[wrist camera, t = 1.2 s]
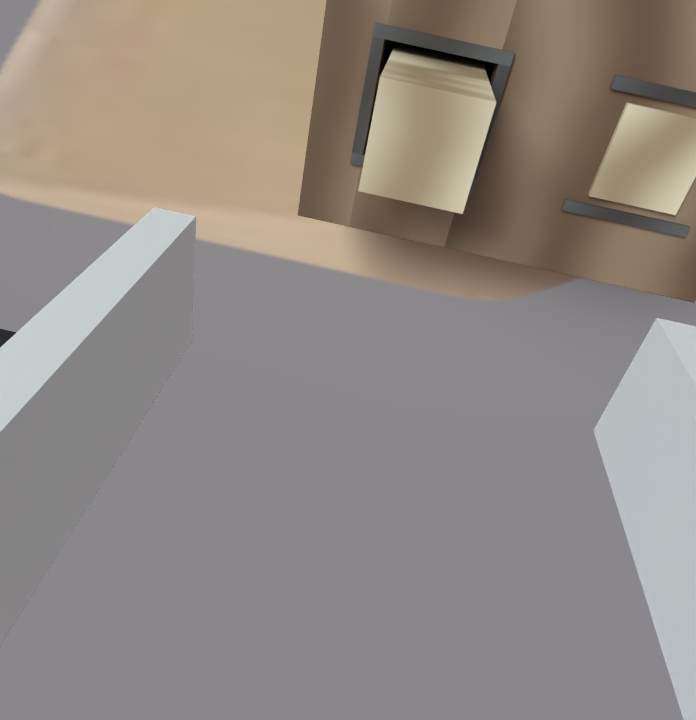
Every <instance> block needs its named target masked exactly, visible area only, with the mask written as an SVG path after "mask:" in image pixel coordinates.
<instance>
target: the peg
mask: <svg viewBox="0 0 696 720" xmlns="http://www.w3.org/2000/svg"><path fill="white" fill-rule="evenodd" d="M495 106H496V99H495V97H494V94H493V91H492V88H491V85H490V82H489V79H488V76H487V73H486V70H485V68H484V65H483V64H481V63H477V62H472V61H468V60H463V59H459V58H454V57H449V56H445V55H440V54H436V53H431V52H427V51H422V50H417V49H413V48H408V47H404V46H399V45H395V46H394V48H393V50H392V53H391V55H390V57H389V59H388V61H387V63H386V65H385V67H384V69H383V72H382V74H381V76H380V80H379V85H378V90H377V95H376V101H375V106H374V111H373V116H372V121H371V127H370V132H369V137H368V142H367V148H366V153H365V158H364V163H363V168H362V174H361V179H360V184H359V189H358V191H360V192H365V193H369V194H374V195H378V196H383V197H387V198H392V199H396V200H401V201H405V202H410V203H415V204H419V205H424V206H428V207H433V208H437V209H442V210H446V211H451V212H455V213H460V214H463V211H464V208H465V205H466V201H467V198H468V195H469V191H470V188H471V185H472V181H473V178H474V175H475V172H476V168H477V165H478V162H479V158H480V155H481V152H482V148H483V145H484V142H485V139H486V135H487V132H488V129H489V125H490V122H491V119H492V115H493V112H494V109H495Z"/></svg>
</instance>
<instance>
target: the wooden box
mask: <svg viewBox="0 0 696 720" xmlns="http://www.w3.org/2000/svg"><path fill="white" fill-rule="evenodd" d="M393 41H396V42H400V43H405V44H409V45H414V46H418V47H423V48H428V49H432V50H437V51H441V52H446V53H450V54H455V55H460V56H464V57H469V58H473V59H478V60H479V62H478V63H481V64H483V65H484V68H485V70H486V73H487V76H488V79H489V82H490V85H491V88H492V91H493V94H494V97H495V99H496V106H495V109H494V112H493V115H492V119H491V122H490V125H489V129H488V132H487V135H486V139H485V142H484V145H483V148H482V152H481V155H480V158H479V162H478V165H477V168H476V172H475V175H474V178H473V181H472V185H471V188H470V191H469V195H468V198H467V201H466V205H465V208H464V211H463V214H460V213H455V212H451V211H446V210H442V209H437V208H433V207H428V206H424V205H419V204H415V203H410V202H405V201H401V200H396V199H392V198H387V197H383V196H378V195H374V194H369V193H365V192H360V191H358V189H359V184H360V179H361V174H362V168H363V163H364V158H365V153H366V148H367V142H368V137H369V132H370V127H371V121H372V116H373V111H374V106H375V101H376V95H377V90H378V85H379V80H380V76H381V74H382V72H383V69H384V67H385V65H386V63H387V61H388V59H389V57H390V55H391V50H392V45H393ZM298 215H299V216H303V217H308V218H313V219H317V220H322V221H326V222H331V223H335V224H340V225H344V226H349V227H353V228H358V229H362V230H367V231H372V232H376V233H381V234H385V235H390V236H394V237H399V238H403V239H408V240H412V241H417V242H421V243H426V244H431V245H435V246H440V247H444V248H449V249H453V250H458V251H462V252H467V253H471V254H476V255H480V256H485V257H490V258H494V259H499V260H503V261H508V262H512V263H517V264H521V265H526V266H530V267H535V268H539V269H544V270H549V271H553V272H558V273H562V274H567V275H571V276H576V277H580V278H585V279H589V280H594V281H598V282H603V283H608V284H612V285H617V286H621V287H626V288H631V289H635V290H639V291H644V292H649V293H653V294H657V295H662V296H667V297H671V298H676V299H681V300H685V301H689V302H694V301H695V300H696V0H327V2H326V10H325V17H324V24H323V32H322V39H321V47H320V54H319V62H318V69H317V76H316V84H315V91H314V99H313V106H312V114H311V121H310V128H309V136H308V143H307V151H306V158H305V165H304V173H303V180H302V188H301V195H300V203H299V210H298Z"/></svg>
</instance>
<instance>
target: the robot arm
mask: <svg viewBox="0 0 696 720" xmlns="http://www.w3.org/2000/svg"><path fill="white" fill-rule="evenodd" d="M195 230H196V216H192V215H187V214H183V213H178V212H174V211H169V210H164V209H160V208H155V207H154V208H153V209H152V210H151V211H150V212H148V213H147V214H146V215H145V216H144V217H143V218H142V219H141V220H140V221H139V222H137V223H136V224H135V225H134V226H133V227H132V228H131V229H130V230H129V231H128V232H126V233H125V234H124V235H123V236H122V237H121V238H120V239H119V240H118V241H117V242H116V243H114V245H112V246H111V247H110V248H109V249H108V250H107V251H106V252H105V253H103V254H102V255H101V256H100V257H99V258H98V259H97V260H96V261H95V262H94V263H92V264H91V265H90V266H89V267H88V268H87V269H86V270H85V271H84V272H83V273H81V274H80V275H79V276H78V277H77V278H76V279H75V280H74V281H73V282H72V283H71V284H69V285H68V286H67V287H66V288H65V289H64V290H63V291H62V292H61V293H60V294H58V295H57V296H56V297H55V298H54V299H53V300H52V301H51V302H50V303H49V304H47V305H46V306H45V307H44V308H43V309H42V310H41V311H40V312H39V313H38V314H36V316H34V317H33V318H32V319H31V320H30V321H29V322H28V323H27V324H25V325H24V326H23V328H21V329H20V330H19V331H18V332H17V333H16V332H12V331H7V330H3V329H0V646H1V645H2V643H3V641H4V640H5V638H6V637H7V635H8V633H9V632H10V630H11V629H12V627H13V625H14V624H15V622H16V621H17V619H18V618H19V616H20V614H21V613H22V611H23V610H24V608H25V606H26V605H27V603H28V602H29V600H30V598H31V597H32V595H33V594H34V592H35V591H36V589H37V587H38V586H39V584H40V582H41V581H42V579H43V578H44V576H45V575H46V573H47V571H48V570H49V568H50V567H51V565H52V564H53V562H54V560H55V559H56V557H57V556H58V554H59V552H60V551H61V549H62V548H63V546H64V544H65V543H66V541H67V540H68V538H69V537H70V535H71V533H72V532H73V530H74V529H75V527H76V525H77V524H78V522H79V521H80V519H81V517H82V516H83V514H84V513H85V511H86V510H87V508H88V506H89V505H90V503H91V502H92V500H93V498H94V497H95V495H96V494H97V492H98V490H99V489H100V487H101V486H102V484H103V483H104V481H105V479H106V478H107V476H108V474H109V473H110V471H111V470H112V468H113V467H114V465H115V464H116V462H117V460H118V459H119V457H120V456H121V454H122V452H123V451H124V449H125V447H126V446H127V444H128V443H129V441H130V440H131V438H132V437H133V435H134V433H135V431H136V430H137V429H138V427H139V425H140V424H141V422H142V421H143V419H144V417H145V416H146V414H147V413H148V411H149V410H150V408H151V406H152V405H153V403H154V401H155V400H156V398H157V397H158V395H159V394H160V392H161V390H162V389H163V387H164V386H165V384H166V382H167V381H168V379H169V378H170V376H171V374H172V373H173V371H174V370H175V368H176V367H177V365H178V364H179V362H180V360H181V359H182V357H183V355H184V354H185V352H186V350H187V349H188V348H189V346H190V344H191V343H192V329H193V327H192V326H193V295H194V262H195ZM594 434H595V437H596V440H597V443H598V447H599V450H600V453H601V456H602V459H603V463H604V466H605V469H606V472H607V475H608V479H609V482H610V485H611V488H612V491H613V495H614V498H615V501H616V504H617V507H618V511H619V514H620V517H621V520H622V523H623V527H624V530H625V533H626V536H627V539H628V543H629V546H630V549H631V552H632V556H633V559H634V562H635V565H636V568H637V571H638V575H639V578H640V581H641V584H642V587H643V591H644V594H645V597H646V600H647V603H648V607H649V610H650V613H651V616H652V619H653V623H654V626H655V629H656V632H657V636H658V639H659V642H660V645H661V648H662V652H663V655H664V658H665V661H666V664H667V668H668V671H669V674H670V677H671V680H672V684H673V687H674V690H675V693H676V696H677V700H678V703H679V706H680V709H681V713H682V716H683V719H684V720H696V326H692V325H687V324H683V323H678V322H674V321H668V320H664V319H660V318H656V320H655V322H654V323H653V325H652V327H651V329H650V330H649V332H648V334H647V336H646V338H645V340H644V341H643V343H642V345H641V346H640V348H639V350H638V352H637V354H636V355H635V357H634V359H633V361H632V363H631V365H630V366H629V368H628V370H627V372H626V373H625V375H624V377H623V379H622V380H621V383H620V384H619V386H618V388H617V389H616V391H615V393H614V395H613V397H612V398H611V400H610V402H609V404H608V405H607V407H606V409H605V411H604V413H603V415H602V416H601V418H600V420H599V422H598V423H597V425H596V427H595V429H594Z"/></svg>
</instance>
